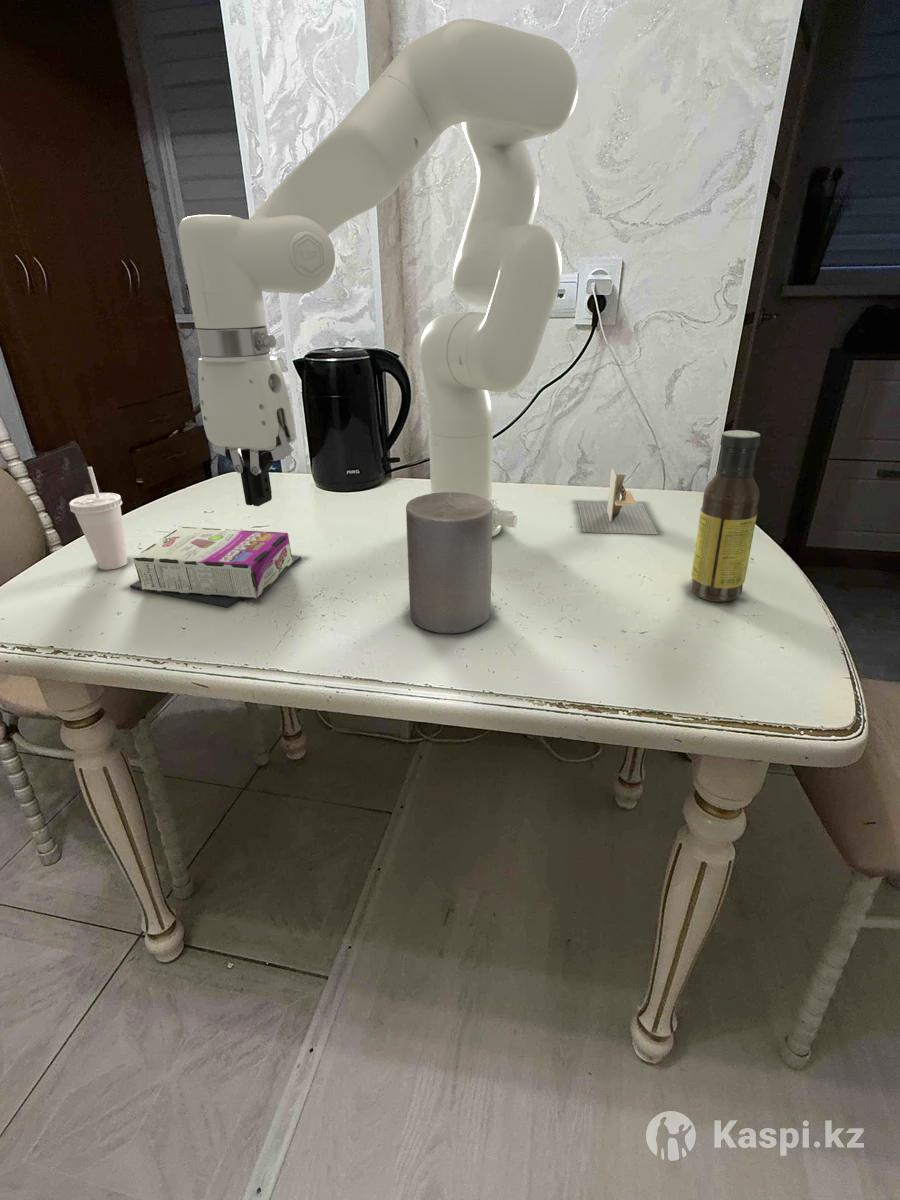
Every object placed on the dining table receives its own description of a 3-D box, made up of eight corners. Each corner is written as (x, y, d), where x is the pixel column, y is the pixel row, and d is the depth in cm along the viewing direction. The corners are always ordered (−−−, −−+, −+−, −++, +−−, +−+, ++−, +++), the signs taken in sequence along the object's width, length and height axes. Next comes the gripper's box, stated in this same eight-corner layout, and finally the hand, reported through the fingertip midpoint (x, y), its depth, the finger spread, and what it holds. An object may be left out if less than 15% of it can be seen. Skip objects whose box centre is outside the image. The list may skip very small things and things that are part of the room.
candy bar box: (294, 565, 87) (188, 556, 90) (289, 531, 85) (180, 524, 88) (257, 602, 78) (139, 591, 81) (250, 566, 75) (130, 555, 78)
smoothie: (147, 559, 91) (123, 464, 84) (109, 576, 86) (80, 477, 79) (116, 552, 93) (90, 460, 87) (78, 569, 88) (47, 471, 82)
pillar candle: (413, 595, 79) (408, 480, 72) (490, 596, 79) (492, 480, 72) (406, 634, 70) (399, 508, 64) (492, 635, 70) (495, 507, 63)
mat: (301, 558, 90) (301, 556, 90) (227, 607, 77) (227, 604, 77) (213, 544, 96) (212, 542, 95) (130, 587, 82) (129, 585, 82)
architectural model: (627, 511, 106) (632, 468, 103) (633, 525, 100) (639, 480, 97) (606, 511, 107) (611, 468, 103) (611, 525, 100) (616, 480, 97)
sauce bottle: (746, 589, 79) (782, 431, 70) (733, 608, 75) (770, 442, 66) (695, 577, 83) (722, 425, 74) (680, 595, 78) (707, 435, 69)
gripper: (310, 343, 70) (326, 500, 79) (204, 341, 75) (230, 488, 84) (269, 350, 64) (292, 519, 73) (157, 346, 69) (190, 505, 78)
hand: (259, 502), depth 78 cm, fingers closed
